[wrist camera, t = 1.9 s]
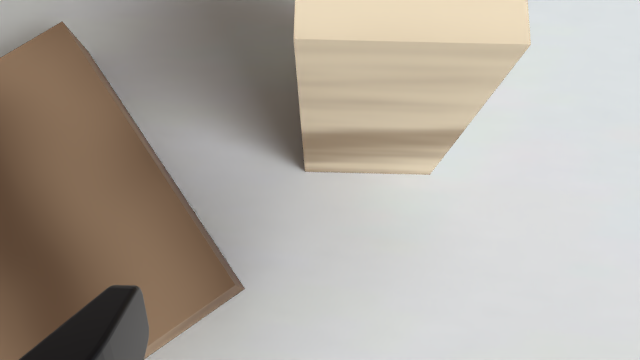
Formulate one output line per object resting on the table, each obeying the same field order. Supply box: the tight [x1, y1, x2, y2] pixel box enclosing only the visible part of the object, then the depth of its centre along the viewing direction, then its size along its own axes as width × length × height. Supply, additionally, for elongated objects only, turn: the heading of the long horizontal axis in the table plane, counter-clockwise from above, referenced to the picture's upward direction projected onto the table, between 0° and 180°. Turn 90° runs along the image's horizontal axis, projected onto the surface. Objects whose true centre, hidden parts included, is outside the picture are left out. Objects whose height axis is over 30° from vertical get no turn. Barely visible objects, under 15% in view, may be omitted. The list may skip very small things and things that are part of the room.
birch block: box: [294, 0, 531, 175], centre depth 18 cm, size 5×5×11 cm
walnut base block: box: [0, 22, 245, 360], centre depth 21 cm, size 12×12×2 cm
